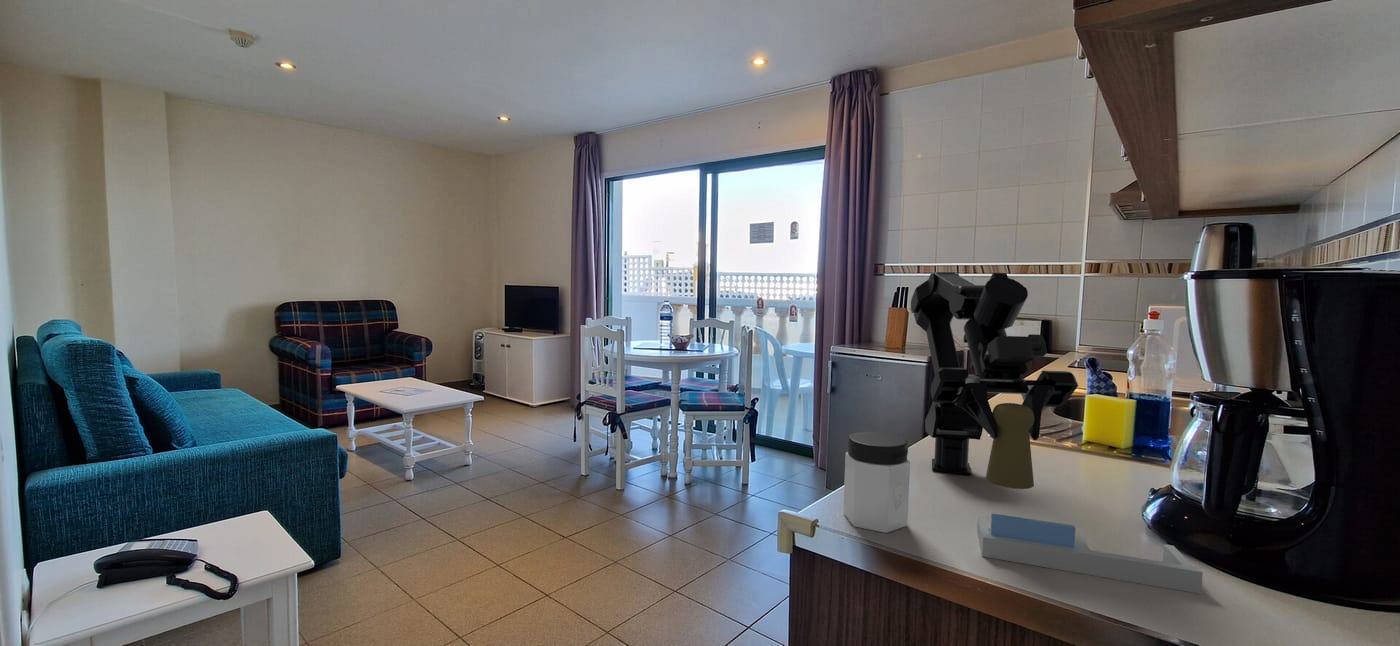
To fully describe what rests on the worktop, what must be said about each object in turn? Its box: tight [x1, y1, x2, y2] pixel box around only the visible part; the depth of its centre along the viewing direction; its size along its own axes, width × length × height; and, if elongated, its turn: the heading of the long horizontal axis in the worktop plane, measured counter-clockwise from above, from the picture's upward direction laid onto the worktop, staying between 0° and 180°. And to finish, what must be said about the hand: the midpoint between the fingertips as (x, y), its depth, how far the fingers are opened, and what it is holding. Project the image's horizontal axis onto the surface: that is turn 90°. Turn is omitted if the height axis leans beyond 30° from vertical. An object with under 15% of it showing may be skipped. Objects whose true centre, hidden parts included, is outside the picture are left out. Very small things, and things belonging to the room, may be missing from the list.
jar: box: [843, 431, 911, 534], centre depth 82 cm, size 9×8×12 cm
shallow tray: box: [976, 513, 1204, 595], centre depth 72 cm, size 9×22×5 cm, turn 68°
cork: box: [985, 402, 1035, 490], centre depth 80 cm, size 6×6×11 cm
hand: (1015, 438), depth 79 cm, fingers closed on cork, 5 cm apart
